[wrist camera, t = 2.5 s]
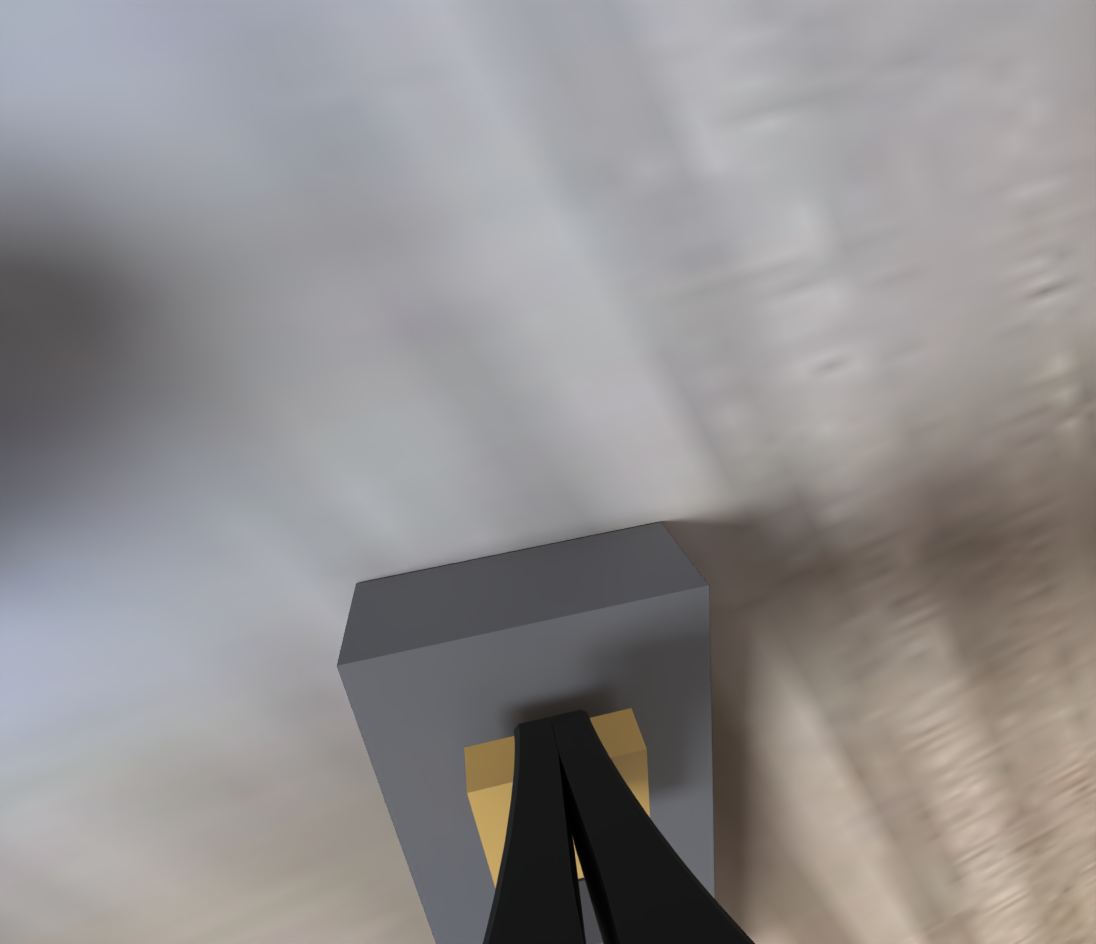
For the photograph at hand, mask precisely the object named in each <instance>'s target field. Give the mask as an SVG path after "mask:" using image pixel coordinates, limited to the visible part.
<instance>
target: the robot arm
mask: <svg viewBox="0 0 1096 944" xmlns="http://www.w3.org/2000/svg"><path fill="white" fill-rule="evenodd" d="M550 718H551V719H550ZM514 740H515V757H514V774H513V785H512V795H511V803H510V810H509V817H508V823H507V830H506V837H505V843H504V849H503V854H502V859H501V864H500V869H499V874H498V879H497V884H496V889H495V894H494V899H493V903H492V907H491V912H490V916H489V920H488V924H487V928H486V932H485V936H484V940H483V944H586V936H585V928H584V920H583V913H582V905H581V897H580V889H579V881H578V873H577V865H576V857H575V849H576V852H577V856H578V859H579V862H580V866H581V869H582V873H583V876H584V879H585V883H586V886H587V890H588V893H589V896H590V900H591V903H592V907H593V910H594V913H595V917H596V920H597V923H598V927H599V930H600V934H601V937H602V940H603V944H755V943H754V942H753V941H752V940H751V939H750V938H749V937H748V936H747V934H746V933H745V932H744V931H743V930H742V929H741V928H740V927H739V926H738V925H737V923H736V922H735V921H734V920H733V919H732V918H731V917H730V916H729V915H728V914H727V912H726V911H725V910H724V909H723V908H722V907H721V906H720V905H719V903H718V902H717V901H716V900H715V899H714V898H713V896H712V895H711V894H710V893H709V892H708V891H707V890H706V888H705V887H704V886H703V885H702V884H701V883H700V881H699V880H698V879H697V878H696V876H695V875H694V874H693V873H692V872H691V870H690V869H689V868H688V867H687V865H686V864H685V863H684V862H683V861H682V859H681V858H680V857H679V855H678V854H677V853H676V852H675V850H674V849H673V848H672V846H671V845H670V844H669V842H668V841H667V840H666V839H665V837H664V836H663V835H662V833H661V832H660V831H659V829H658V828H657V827H656V825H655V824H654V823H653V821H652V820H651V818H650V817H649V816H648V814H647V813H646V811H645V810H644V808H643V807H642V806H641V804H640V803H639V801H638V800H637V798H636V797H635V795H634V794H633V792H632V791H631V790H630V788H629V787H628V785H627V784H626V782H625V781H624V779H623V777H622V776H621V774H620V773H619V771H618V770H617V768H616V766H615V765H614V763H613V761H612V760H611V758H610V756H609V755H608V753H607V751H606V749H605V748H604V746H603V744H602V742H601V740H600V739H599V737H598V735H597V733H596V731H595V729H594V727H593V725H592V722H591V720H590V718H589V715H588V713H587V712H585V711H583V710H577V711H572V712H568V713H564V714H559V715H555V716H551V717H547V718H542V719H538V720H534V721H529V722H525V723H521V724H518V725H517V727H516V728H515V729H514ZM573 841H574V842H573ZM574 845H575V849H574Z"/></svg>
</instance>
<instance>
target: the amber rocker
mask: <svg viewBox="0 0 1096 944" xmlns="http://www.w3.org/2000/svg"><path fill="white" fill-rule="evenodd" d="M590 720H591V722H592V725H593V727H594V729H595V731H596V733H597V735H598V737H599V739H600V740H601V742H602V744H603V746H604V748H605V749H606V751H607V753H608V755H609V756H610V758H611V760H612V761H613V763H614V765H615V766H616V768H617V770H618V771H619V773H620V774H621V776H622V777H623V779H624V781H625V782H626V784H627V785H628V787H629V788H630V790H631V791H632V792H633V794H634V795H635V797H636V798H637V800H638V801H639V803H640V804H641V806H642V807H643V808H644V810H645V811H646V813H647V814H648V816H649V817H650V807H649V786H648V764H647V748H646V746H645V743H644V740H643V738H642V735H641V732H640V730H639V727H638V724H637V722H636V719H635V716H634V714H633V711H632V708H629V709H625V710H621V711H617V712H613V713H608V714H604V715H600V716H596V717H592V718H590ZM464 753H465V769H466V785H467V795H468V798H469V801H470V805H471V808H472V812H473V815H474V818H475V822H476V825H477V828H478V832H479V835H480V838H481V842H482V845H483V848H484V852H485V855H486V858H487V862H488V865H489V868H490V872H491V875H492V879H493V882H494V885H495V889H496V884H497V879H498V874H499V869H500V864H501V859H502V854H503V849H504V843H505V837H506V830H507V823H508V817H509V810H510V803H511V795H512V785H513V774H514V757H515V740H514V736H511V737H507V738H503V739H499V740H495V741H490V742H486V743H482V744H478V745H473V746H469V747H465V748H464ZM573 842H574V841H573ZM574 849H575V845H574ZM575 857H576V865H577V873H578V879H579V878H583V877H584V876H583V873H582V869H581V866H580V862H579V859H578V856H577V852H576V849H575Z"/></svg>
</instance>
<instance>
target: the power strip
mask: <svg viewBox="0 0 1096 944" xmlns="http://www.w3.org/2000/svg"><path fill="white" fill-rule="evenodd" d="M337 668H338V671H339V673H340V676H341V679H342V682H343V685H344V687H345V690H346V693H347V696H348V699H349V701H350V704H351V707H352V710H353V713H354V715H355V718H356V721H357V724H358V727H359V729H360V732H361V735H362V738H363V741H364V743H365V746H366V749H367V752H368V755H369V757H370V760H371V763H372V766H373V769H374V771H375V774H376V777H377V780H378V783H379V785H380V788H381V791H382V794H383V797H384V799H385V802H386V805H387V808H388V811H389V813H390V816H391V819H392V822H393V825H394V827H395V830H396V833H397V836H398V839H399V841H400V844H401V847H402V850H403V852H404V855H405V858H406V861H407V864H408V866H409V869H410V872H411V875H412V878H413V880H414V883H415V886H416V889H417V892H418V894H419V897H420V900H421V903H422V906H423V908H424V911H425V914H426V917H427V920H428V922H429V925H430V928H431V931H432V934H433V936H434V939H435V942H436V944H483V940H484V936H485V932H486V928H487V924H488V920H489V916H490V912H491V907H492V903H493V899H494V894H495V885H494V882H493V879H492V875H491V872H490V868H489V865H488V862H487V858H486V855H485V852H484V848H483V845H482V842H481V838H480V835H479V832H478V828H477V825H476V822H475V818H474V815H473V812H472V808H471V805H470V801H469V798H468V795H467V785H466V769H465V753H464V748H465V747H469V746H473V745H478V744H482V743H486V742H490V741H495V740H499V739H503V738H507V737H511V736H514V729H515V728H516V727H517V725H518V724H521V723H525V722H529V721H534V720H538V719H542V718H547V717H551V716H555V715H559V714H564V713H568V712H572V711H577V710H583V711H585V712H587V713H588V715H589V718H592V717H596V716H600V715H604V714H608V713H613V712H617V711H621V710H625V709H629V708H632V711H633V714H634V716H635V719H636V722H637V724H638V727H639V730H640V732H641V735H642V738H643V740H644V743H645V746H646V748H647V764H648V786H649V807H650V818H651V820H652V821H653V823H654V824H655V825H656V827H657V828H658V829H659V831H660V832H661V833H662V835H663V836H664V837H665V839H666V840H667V841H668V842H669V844H670V845H671V846H672V848H673V849H674V850H675V852H676V853H677V854H678V855H679V857H680V858H681V859H682V861H683V862H684V863H685V864H686V865H687V867H688V868H689V869H690V870H691V872H692V873H693V874H694V875H695V876H696V878H697V879H698V880H699V881H700V883H701V884H702V885H703V886H704V887H705V888H706V890H707V891H708V892H709V893H710V894H711V895H712V896H713V898H714V899H715V891H714V833H713V776H712V718H711V661H710V603H709V584H708V583H707V582H706V580H705V579H704V578H703V576H702V575H701V574H700V572H699V571H698V570H697V568H696V567H695V566H694V564H693V563H692V562H691V560H690V559H689V558H688V557H687V555H686V554H685V553H684V551H683V550H682V549H681V547H680V546H679V545H678V543H677V542H676V541H675V539H674V538H673V537H672V535H671V534H670V533H669V531H668V530H667V529H666V528H665V526H664V525H663V524H662V522H658V523H653V524H648V525H643V526H638V527H634V528H629V529H624V530H619V531H614V532H609V533H604V534H599V535H594V536H589V537H584V538H579V539H574V540H569V541H564V542H560V543H555V544H550V545H545V546H540V547H535V548H530V549H525V550H520V551H515V552H510V553H505V554H500V555H495V556H490V557H486V558H481V559H476V560H471V561H466V562H461V563H456V564H451V565H446V566H441V567H436V568H431V569H426V570H421V571H417V572H412V573H407V574H402V575H397V576H392V577H387V578H382V579H377V580H372V581H367V582H362V583H357V584H356V586H355V591H354V595H353V599H352V603H351V608H350V612H349V616H348V620H347V625H346V629H345V633H344V637H343V642H342V646H341V650H340V654H339V659H338V663H337ZM550 719H551V718H550ZM578 881H579V889H580V897H581V905H582V913H583V920H584V928H585V936H586V944H603V940H602V937H601V934H600V930H599V927H598V923H597V920H596V917H595V913H594V910H593V907H592V903H591V900H590V896H589V893H588V890H587V886H586V883H585V879H584V877H583V878H579V879H578Z"/></svg>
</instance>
